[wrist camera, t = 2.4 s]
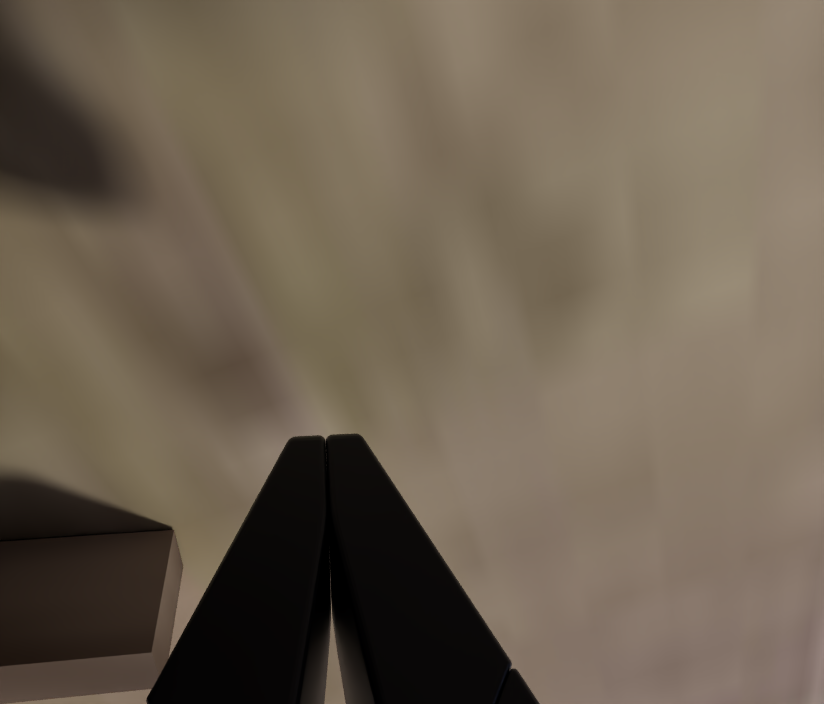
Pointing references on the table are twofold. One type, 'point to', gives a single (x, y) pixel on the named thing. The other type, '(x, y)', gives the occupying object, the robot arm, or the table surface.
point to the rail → (86, 613)
